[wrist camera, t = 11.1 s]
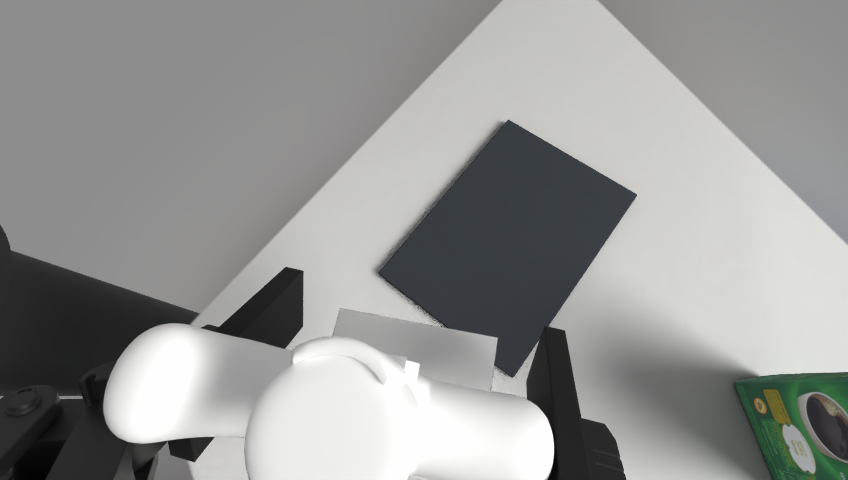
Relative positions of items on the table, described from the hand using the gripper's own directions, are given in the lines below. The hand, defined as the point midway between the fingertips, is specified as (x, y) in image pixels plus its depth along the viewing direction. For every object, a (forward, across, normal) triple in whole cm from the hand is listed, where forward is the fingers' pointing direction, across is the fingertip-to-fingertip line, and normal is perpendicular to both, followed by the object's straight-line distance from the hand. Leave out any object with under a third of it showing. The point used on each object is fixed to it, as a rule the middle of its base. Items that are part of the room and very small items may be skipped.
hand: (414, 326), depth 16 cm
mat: (+22, +4, -4) cm, 23 cm away
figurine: (+2, 0, -6) cm, 7 cm away
